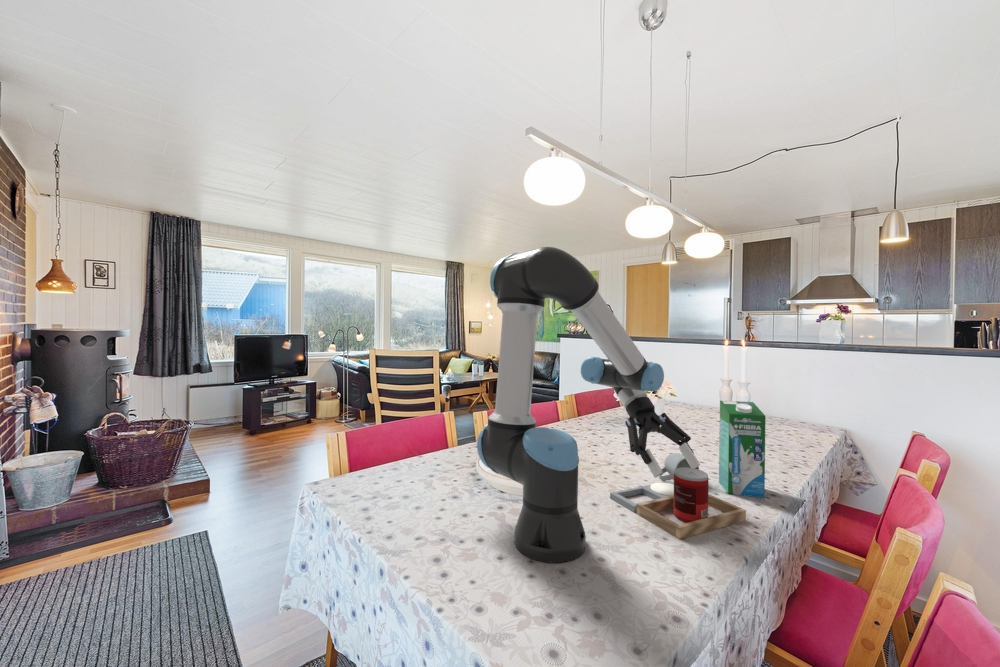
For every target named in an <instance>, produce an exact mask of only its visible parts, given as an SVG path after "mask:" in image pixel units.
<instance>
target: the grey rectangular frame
mask: <svg viewBox="0 0 1000 667" xmlns="http://www.w3.org/2000/svg"><path fill="white" fill-rule="evenodd" d="M641 493H643V495H644V494H645V495H644V496H646V497H648V498H650V497H651V498H650V499H651V500H645V502H648V501H652V500H657V499H662V498H666V497H671V496H674V481H671V480H666V481H662V482H655V483H652V484H647V485H643V486H637V487H631V488H627V489H624V490H623V489H622V490H617V491H613V492H610V493H609V499H610V500H612V501H614V502H615V503H616V504H619V505H621V506H622V507H624V508H626V509H628V510H629V511H631V512H633V513H637V504H639V503H643V502H644V501H642V502H637V503H635V502H633V501H631V500H630V499H628V498H627V496H628V497H632V495H633V496H637V494H638V495H642V494H641Z"/></svg>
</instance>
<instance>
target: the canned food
mask: <svg viewBox="0 0 1000 667" xmlns="http://www.w3.org/2000/svg"><path fill="white" fill-rule="evenodd" d="M673 483H674V508H673V514H674V516H675V518H676V519H678V520H679V521H681V522H683V523H689V522H693V521H696V520H700V519H704V518H708V517H709V505H708V494H709V474H708V473H707V472H705V471H703V470H701V469H699V470H698V469H694V468H687V467H682V468H677V469H675V470H674V479H673Z"/></svg>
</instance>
